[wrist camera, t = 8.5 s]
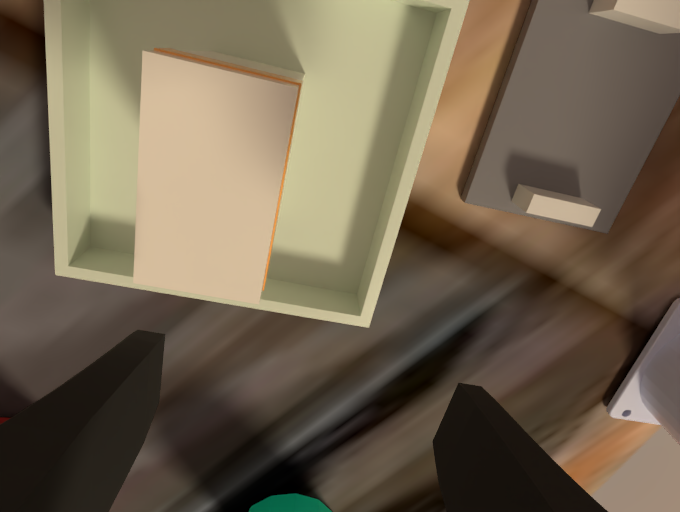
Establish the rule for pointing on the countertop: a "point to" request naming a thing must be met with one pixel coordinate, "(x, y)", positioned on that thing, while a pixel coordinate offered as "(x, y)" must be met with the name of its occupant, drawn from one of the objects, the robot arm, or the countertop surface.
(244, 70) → the block
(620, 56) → the fuse holder
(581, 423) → the countertop surface
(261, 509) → the candle
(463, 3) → the tray
